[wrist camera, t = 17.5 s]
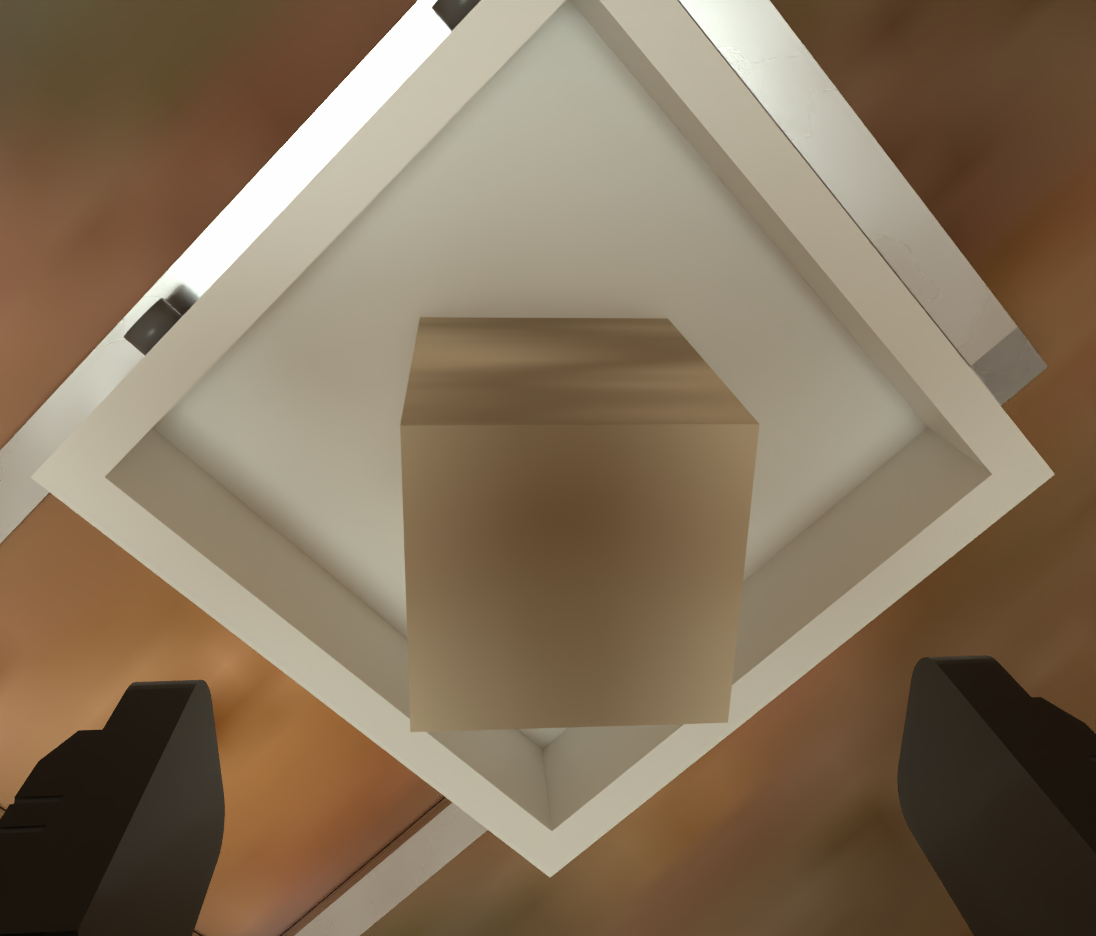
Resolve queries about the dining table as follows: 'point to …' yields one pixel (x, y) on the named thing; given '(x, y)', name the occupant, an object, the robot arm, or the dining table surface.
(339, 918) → the track
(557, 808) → the shallow white tray
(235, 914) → the dining table surface
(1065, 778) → the robot arm
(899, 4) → the dining table surface
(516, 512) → the block
